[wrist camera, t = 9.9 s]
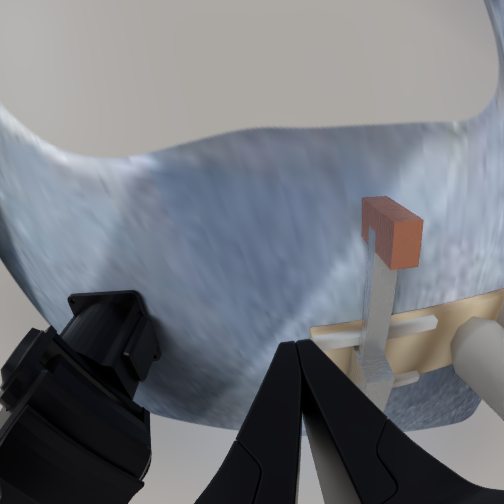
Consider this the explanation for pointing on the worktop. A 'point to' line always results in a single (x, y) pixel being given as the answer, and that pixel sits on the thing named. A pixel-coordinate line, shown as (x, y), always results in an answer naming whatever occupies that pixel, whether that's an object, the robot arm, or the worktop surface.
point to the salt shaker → (481, 359)
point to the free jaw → (382, 290)
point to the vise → (412, 336)
